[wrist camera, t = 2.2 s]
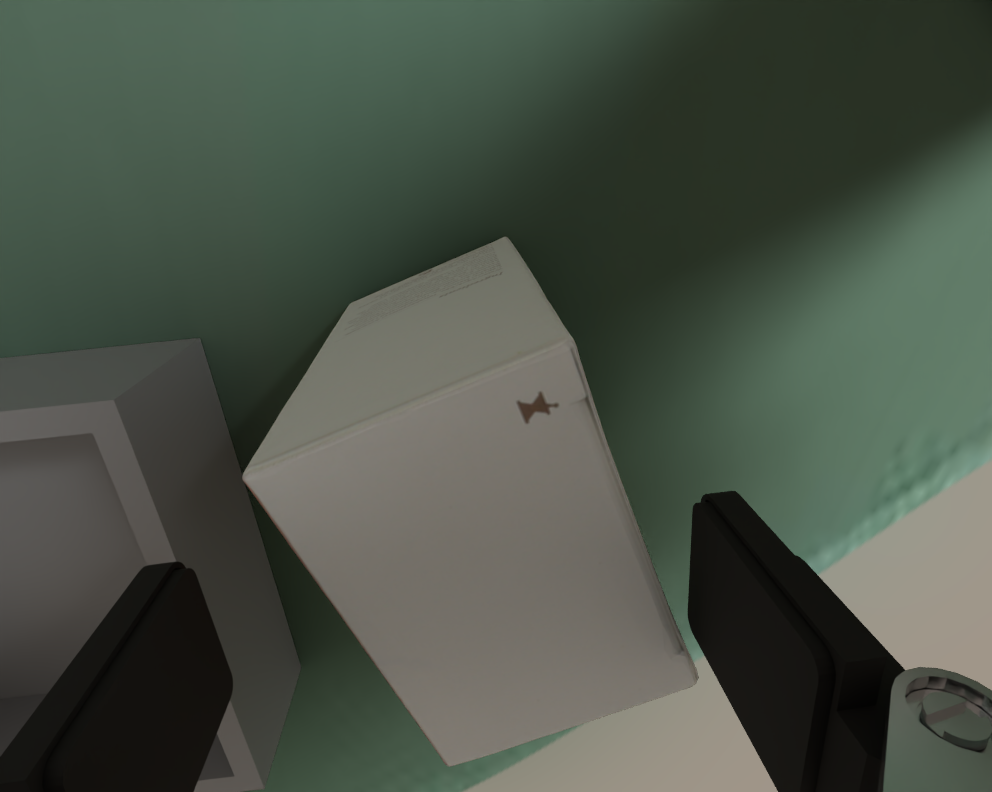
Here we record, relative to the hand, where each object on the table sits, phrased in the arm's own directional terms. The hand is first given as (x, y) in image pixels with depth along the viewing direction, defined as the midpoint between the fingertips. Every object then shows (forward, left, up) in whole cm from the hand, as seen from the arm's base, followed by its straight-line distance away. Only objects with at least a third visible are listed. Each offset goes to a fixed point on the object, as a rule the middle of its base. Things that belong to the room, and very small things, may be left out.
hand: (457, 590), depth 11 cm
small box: (-1, -1, -10) cm, 10 cm away
